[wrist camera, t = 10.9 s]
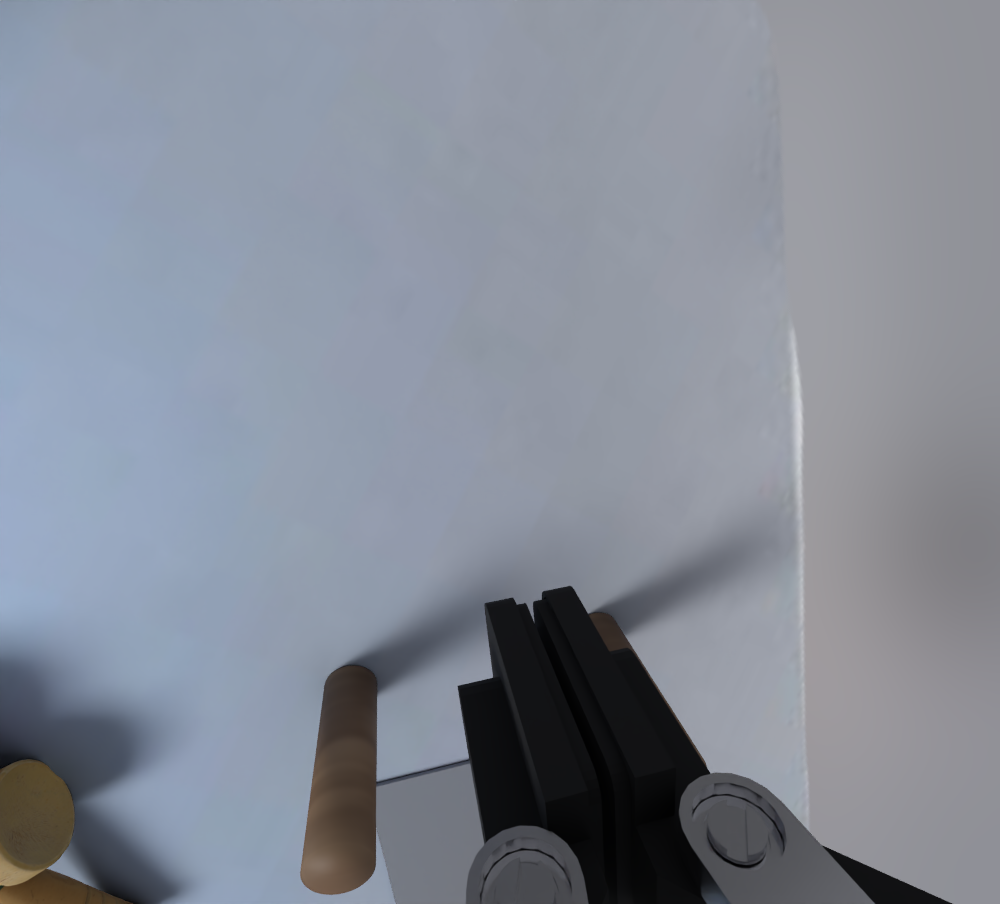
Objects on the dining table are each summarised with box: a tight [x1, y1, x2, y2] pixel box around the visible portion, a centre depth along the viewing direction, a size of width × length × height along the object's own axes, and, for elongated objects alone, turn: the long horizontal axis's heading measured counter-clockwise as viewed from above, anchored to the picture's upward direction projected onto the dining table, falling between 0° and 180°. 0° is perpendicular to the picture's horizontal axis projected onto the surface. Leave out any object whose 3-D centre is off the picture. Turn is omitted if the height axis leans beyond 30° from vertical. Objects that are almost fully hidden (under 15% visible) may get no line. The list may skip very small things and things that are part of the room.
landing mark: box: [376, 760, 484, 904], centre depth 34 cm, size 14×14×1 cm
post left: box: [300, 665, 377, 895], centre depth 24 cm, size 3×3×9 cm
